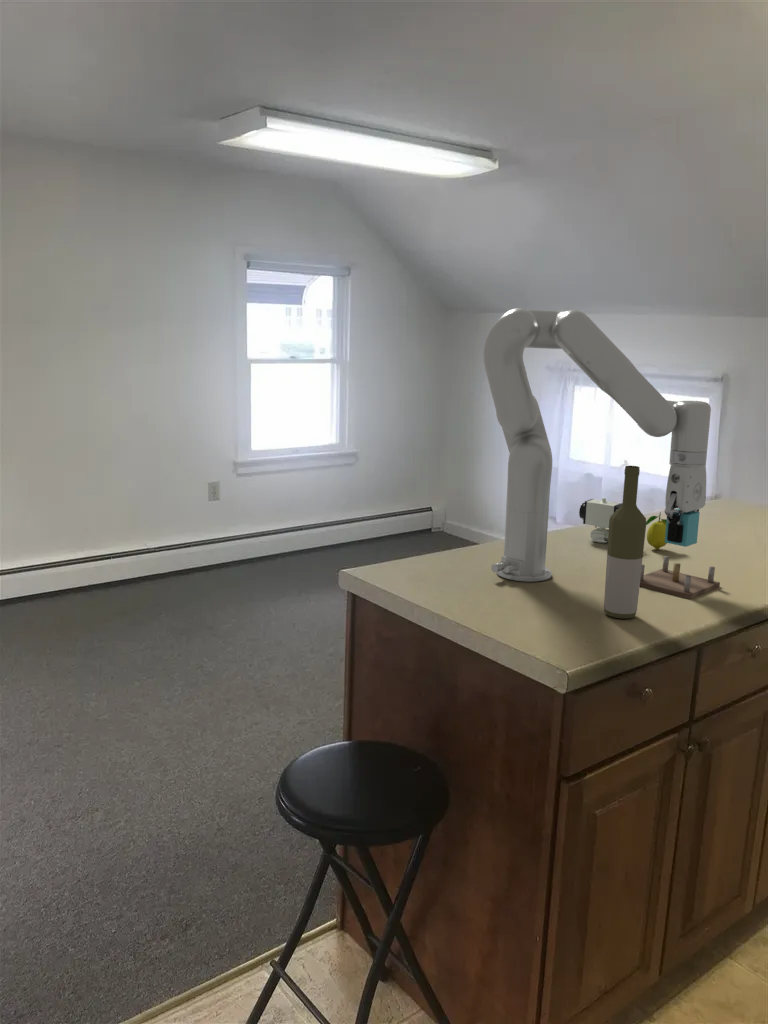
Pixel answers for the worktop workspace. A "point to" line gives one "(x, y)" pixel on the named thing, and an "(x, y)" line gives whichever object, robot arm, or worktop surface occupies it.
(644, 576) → the pegboard
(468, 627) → the worktop surface
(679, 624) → the worktop surface
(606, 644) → the worktop surface
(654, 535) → the lemon
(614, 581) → the bottle
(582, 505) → the pneumatic valve
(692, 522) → the hollow square block
